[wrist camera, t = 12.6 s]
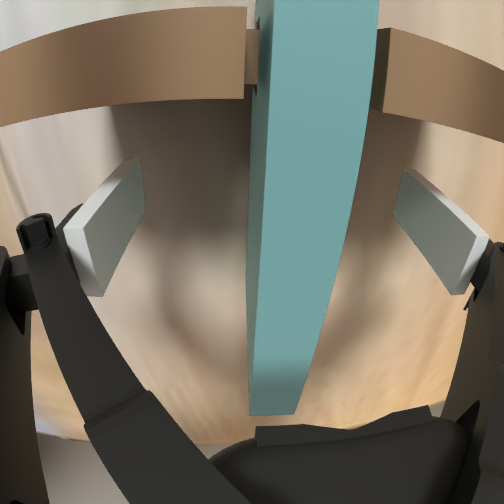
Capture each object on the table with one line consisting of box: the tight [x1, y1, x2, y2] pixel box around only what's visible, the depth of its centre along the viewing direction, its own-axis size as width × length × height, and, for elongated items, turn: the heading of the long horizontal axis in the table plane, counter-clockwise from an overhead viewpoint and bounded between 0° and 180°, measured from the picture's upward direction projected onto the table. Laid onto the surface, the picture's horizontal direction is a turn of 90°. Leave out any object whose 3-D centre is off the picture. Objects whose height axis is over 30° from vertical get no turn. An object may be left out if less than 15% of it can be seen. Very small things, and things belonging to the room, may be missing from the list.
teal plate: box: [246, 0, 379, 416], centre depth 14 cm, size 20×2×11 cm, turn 178°
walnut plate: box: [0, 7, 504, 143], centre depth 11 cm, size 20×2×11 cm, turn 88°
